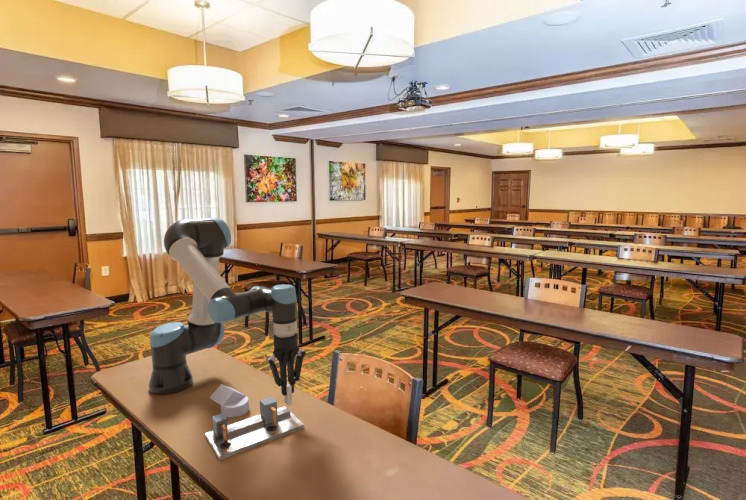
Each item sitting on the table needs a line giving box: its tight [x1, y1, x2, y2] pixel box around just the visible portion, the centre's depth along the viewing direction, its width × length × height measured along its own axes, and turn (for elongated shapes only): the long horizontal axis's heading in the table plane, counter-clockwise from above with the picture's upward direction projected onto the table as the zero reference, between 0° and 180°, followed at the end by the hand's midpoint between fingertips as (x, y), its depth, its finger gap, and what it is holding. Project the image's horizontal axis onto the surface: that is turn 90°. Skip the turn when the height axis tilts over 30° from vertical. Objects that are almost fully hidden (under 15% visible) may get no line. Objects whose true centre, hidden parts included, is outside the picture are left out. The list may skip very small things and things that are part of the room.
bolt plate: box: [204, 405, 305, 461], centre depth 127 cm, size 14×26×8 cm, turn 127°
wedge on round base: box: [209, 383, 250, 418], centre depth 141 cm, size 9×7×13 cm
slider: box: [259, 396, 278, 426], centre depth 129 cm, size 7×4×6 cm, turn 37°
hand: (288, 403), depth 134 cm, fingers closed
